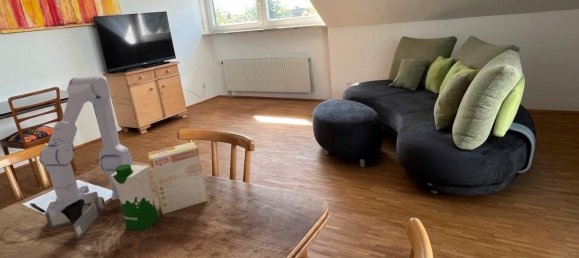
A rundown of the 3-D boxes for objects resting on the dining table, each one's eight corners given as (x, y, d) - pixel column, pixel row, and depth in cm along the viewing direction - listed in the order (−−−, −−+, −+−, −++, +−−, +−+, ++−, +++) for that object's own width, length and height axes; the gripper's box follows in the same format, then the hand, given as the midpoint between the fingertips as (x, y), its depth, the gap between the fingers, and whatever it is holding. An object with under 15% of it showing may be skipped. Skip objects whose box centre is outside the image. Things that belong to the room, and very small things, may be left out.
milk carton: (121, 230, 111) (104, 169, 104) (141, 214, 119) (127, 157, 112) (145, 233, 108) (129, 171, 101) (164, 216, 116) (150, 158, 109)
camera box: (106, 204, 128) (102, 187, 126) (105, 214, 120) (100, 197, 118) (55, 216, 122) (49, 200, 120) (50, 229, 115) (44, 211, 113)
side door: (95, 216, 119) (91, 202, 118) (100, 215, 119) (96, 202, 118) (76, 239, 107) (71, 224, 106) (81, 238, 107) (76, 224, 106)
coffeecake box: (203, 193, 129) (193, 141, 123) (208, 201, 123) (198, 147, 117) (159, 205, 123) (146, 151, 117) (162, 215, 117) (149, 158, 111)
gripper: (69, 173, 115) (81, 211, 119) (33, 196, 101) (48, 238, 105) (90, 173, 114) (101, 211, 118) (56, 196, 100) (70, 238, 104)
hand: (77, 224), depth 111 cm, fingers closed
